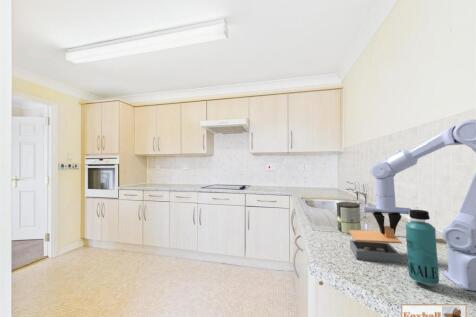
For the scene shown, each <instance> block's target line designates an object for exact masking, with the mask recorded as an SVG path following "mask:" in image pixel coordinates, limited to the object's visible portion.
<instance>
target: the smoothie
mask: <svg viewBox="0 0 476 317" xmlns="http://www.w3.org/2000/svg"><path fill="white" fill-rule="evenodd" d="M415 208H416V209H415V210H419V208H418V206H416V207H415ZM406 219H407V221H408V222H410V221H421V222H426V221H427V220H421V219H414V218H410V215H407V216H406ZM408 222H407V223H408Z"/></svg>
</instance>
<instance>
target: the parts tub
mask: <svg viewBox="0 0 476 317" xmlns="http://www.w3.org/2000/svg"><path fill="white" fill-rule="evenodd" d="M349 246H350V249H351V251H352V253H353V255H354V257H355V259H356V260H358V261H369V262H379V263H387V264H389V263H390V264H400V265H402V254H401V253H400V252H398V250H396V249H395V248H394V247H393V246H392V245H391V243H377V242H357V241H355V240H354V239H353V240H352V239H349Z"/></svg>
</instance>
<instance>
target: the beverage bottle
mask: <svg viewBox="0 0 476 317" xmlns="http://www.w3.org/2000/svg"><path fill="white" fill-rule="evenodd" d="M429 213H430V212H429V211H427V210H423V209H418V210H416V209H411V210H410V214H409V216H410V218H414V219H421V220H426V221H427V220H430V214H429ZM426 221H425V222H421V221H410V222H407V223H406V224H405V242H406V252H407V253H406V257H407V272H408V276H409V278H411V279H412V280H414V281H415V282H418V283H421V284H424V285H429V286H435V285H438V284H439V283H440V279H441V278H440V276H441V275H440V272H439V268H440V264H439V257H438V252H437V251H438V250H437V237H436V235H437V234H436V227H435V226H433V225H432V224H431V223H429V222H426Z"/></svg>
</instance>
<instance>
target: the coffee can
mask: <svg viewBox="0 0 476 317" xmlns="http://www.w3.org/2000/svg"><path fill="white" fill-rule="evenodd" d="M360 206H361V204H360V203H358V202H351V201H349V202H348V201H347V202H346V201H343V202H341V201H339V202H336V215H337V216H336V217H337V218H336V219H337V232H338V231H339V232H338V233H339V234H341V235H344V236H350V237H352V236H351V234H350V233H349V230H361V229H362V226H361V223H362V222H361V211H360V210H361V209H360V208H361V207H360Z"/></svg>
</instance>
